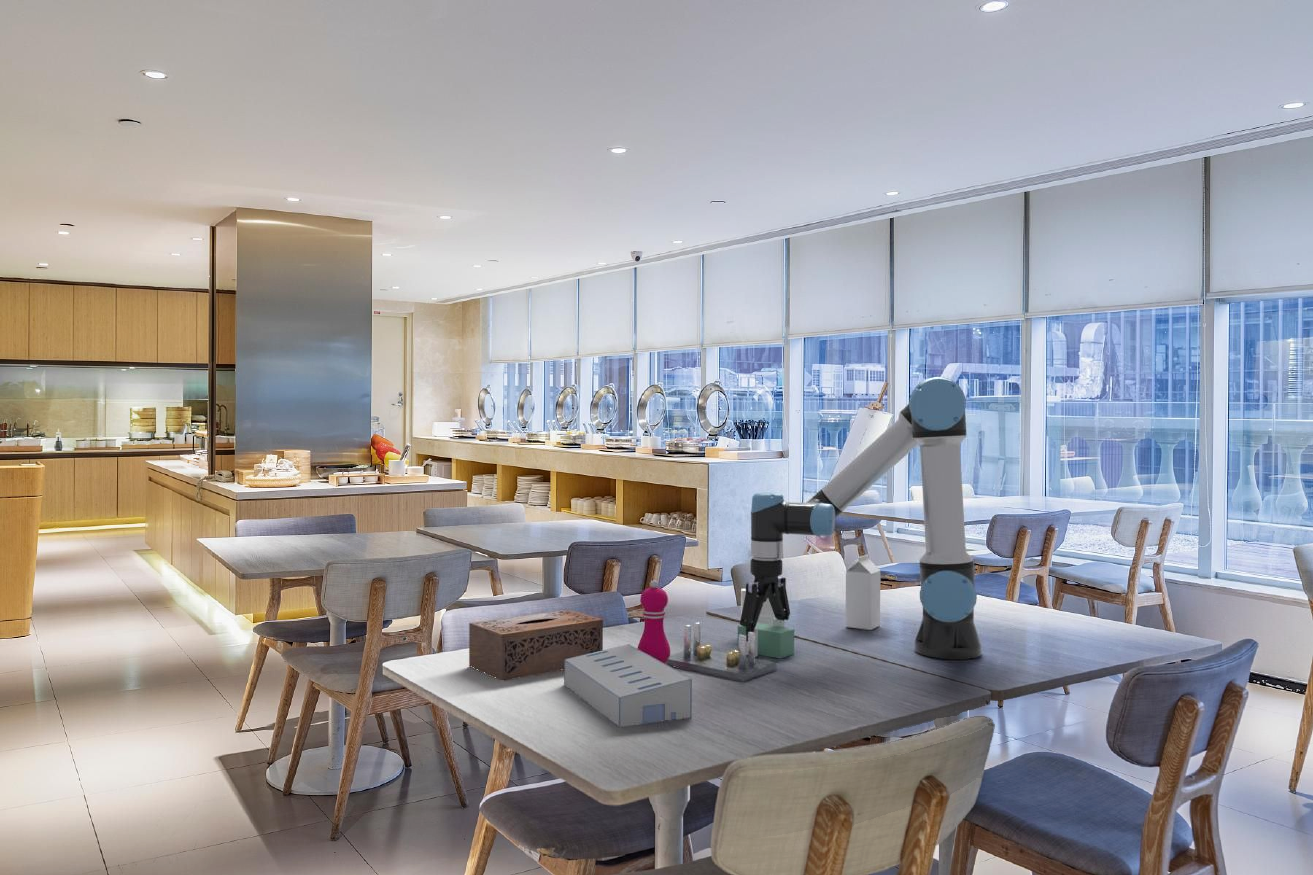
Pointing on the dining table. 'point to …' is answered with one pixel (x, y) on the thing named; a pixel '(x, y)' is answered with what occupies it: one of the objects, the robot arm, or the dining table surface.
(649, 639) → the pepper mill
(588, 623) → the tissue box cover
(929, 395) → the robot arm
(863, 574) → the milk carton
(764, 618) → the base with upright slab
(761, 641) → the mint green rectangular block
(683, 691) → the warehouse
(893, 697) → the dining table surface
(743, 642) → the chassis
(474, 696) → the dining table surface
